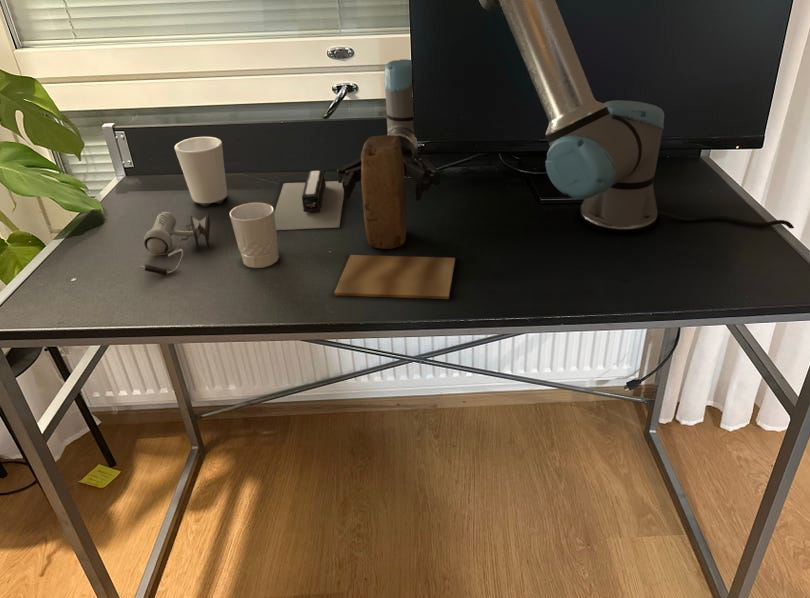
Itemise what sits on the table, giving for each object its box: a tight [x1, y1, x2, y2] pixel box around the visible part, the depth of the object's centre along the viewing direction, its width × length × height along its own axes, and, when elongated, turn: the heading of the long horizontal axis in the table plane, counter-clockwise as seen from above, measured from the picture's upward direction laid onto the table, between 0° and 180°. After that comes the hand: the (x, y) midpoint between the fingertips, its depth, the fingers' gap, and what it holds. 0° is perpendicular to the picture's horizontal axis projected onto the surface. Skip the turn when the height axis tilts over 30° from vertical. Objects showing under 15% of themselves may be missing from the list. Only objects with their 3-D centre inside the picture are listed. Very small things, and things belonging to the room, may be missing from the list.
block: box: [360, 134, 408, 250], centre depth 133 cm, size 11×8×20 cm
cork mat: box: [334, 254, 456, 300], centre depth 126 cm, size 20×14×1 cm
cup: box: [174, 136, 228, 207], centre depth 153 cm, size 10×10×13 cm
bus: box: [274, 169, 344, 231], centre depth 152 cm, size 14×25×4 cm, turn 3°
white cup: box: [229, 201, 280, 269], centre depth 130 cm, size 8×8×10 cm
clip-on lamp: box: [139, 211, 211, 276], centre depth 134 cm, size 12×6×18 cm
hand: (381, 193), depth 130 cm, fingers open, 13 cm apart
